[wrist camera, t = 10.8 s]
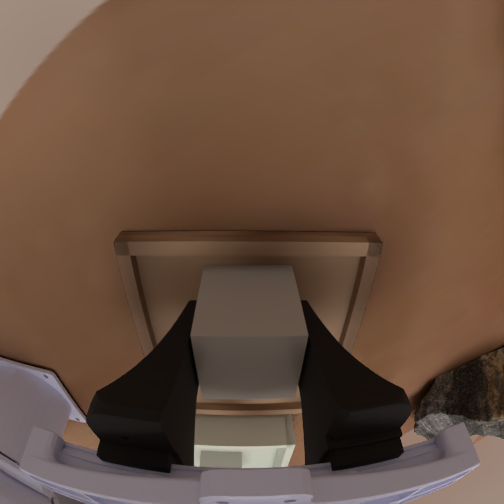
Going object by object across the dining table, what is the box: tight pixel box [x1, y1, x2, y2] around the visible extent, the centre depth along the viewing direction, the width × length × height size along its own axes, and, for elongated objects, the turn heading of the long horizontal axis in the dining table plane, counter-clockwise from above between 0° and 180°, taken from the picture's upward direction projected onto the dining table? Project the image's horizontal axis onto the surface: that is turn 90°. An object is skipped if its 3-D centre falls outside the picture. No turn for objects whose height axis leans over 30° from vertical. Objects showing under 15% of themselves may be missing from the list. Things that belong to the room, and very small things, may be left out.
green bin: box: [194, 414, 296, 468], centre depth 23 cm, size 12×14×3 cm
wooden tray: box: [114, 231, 383, 415], centre depth 16 cm, size 12×14×1 cm
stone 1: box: [200, 451, 242, 468], centre depth 24 cm, size 4×4×4 cm
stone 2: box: [190, 265, 308, 399], centre depth 13 cm, size 4×4×4 cm
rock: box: [414, 347, 504, 440], centre depth 19 cm, size 14×11×10 cm
